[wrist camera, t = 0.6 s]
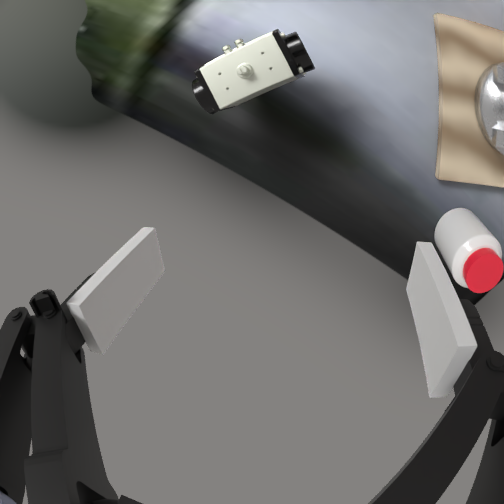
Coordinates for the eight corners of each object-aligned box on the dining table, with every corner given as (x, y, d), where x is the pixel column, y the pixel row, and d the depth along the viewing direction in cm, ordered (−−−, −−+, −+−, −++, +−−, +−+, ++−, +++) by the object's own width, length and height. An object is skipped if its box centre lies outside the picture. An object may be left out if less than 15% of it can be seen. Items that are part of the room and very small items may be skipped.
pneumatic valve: (317, 74, 33) (314, 67, 22) (233, 109, 37) (197, 119, 27) (298, 35, 30) (286, 14, 20) (215, 73, 35) (173, 71, 25)
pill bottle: (486, 232, 36) (518, 272, 27) (451, 264, 40) (474, 310, 31) (461, 196, 35) (495, 232, 26) (424, 232, 39) (446, 276, 30)
